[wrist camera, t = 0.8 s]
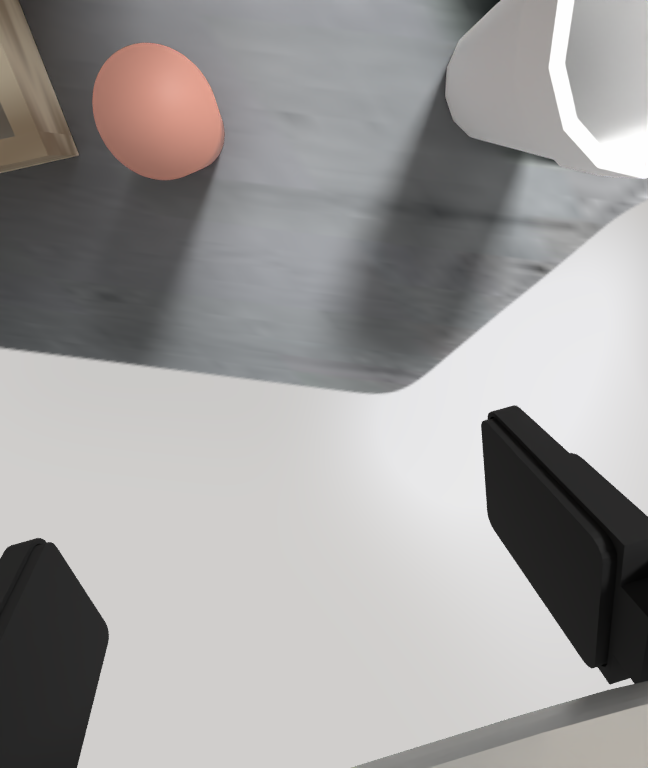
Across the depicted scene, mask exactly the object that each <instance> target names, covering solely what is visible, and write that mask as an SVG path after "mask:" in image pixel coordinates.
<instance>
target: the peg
mask: <svg viewBox="0 0 648 768" xmlns="http://www.w3.org/2000/svg"><path fill="white" fill-rule="evenodd" d="M92 103H93V113H94V119H95V122H96V126H97V129H98V131H99V133H100V136H101V138H102V139H103V141H104V143H105V145H106V146H107V148H108V149H109V150H110V152H111V153H112V154H113V155H114V156H115V157H116V158H117V159H118V160H119V161H120V162H121V163H122V164H123V165H124V166H126V167H127V168H129V169H130V170H132V171H134V172H136V173H137V174H139V175H142V176H145V177H148V178H152V179H157V180H173V179H178V178H181V177H185V176H187V175H189V174H191V173H194V172H196V171H198V170H200V169H203V168H205V167H207V166H209V165H210V164H212V163H213V162H214V161H215V160H216V158H217V157H218V156H219V154H220V152H221V150H222V147H223V144H224V135H225V133H224V125H223V121H222V118H221V115H220V112H219V109H218V106H217V103H216V100H215V97H214V94H213V92H212V90H211V87H210V85H209V83H208V82H207V80H206V78H205V77H204V75H203V74H202V73H201V71H200V70H199V69H198V68H197V67H196V66H195V65H194V64H193V62H191V61H190V60H189V59H188V58H187V57H185V56H184V55H182V54H181V53H179V52H178V51H176V50H174V49H172V48H169V47H167V46H164V45H160V44H155V43H138V44H133V45H129V46H126V47H124V48H122V49H120V50H118V51H117V52H116V53H114V54H113V55H112V56H111V57H110V58H109V59H108V60H107V61H106V62H105V63H104V65H103V66H102V67H101V69H100V71H99V73H98V75H97V78H96V81H95V84H94V89H93V99H92Z"/></svg>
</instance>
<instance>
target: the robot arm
mask: <svg viewBox="0 0 648 768" xmlns="http://www.w3.org/2000/svg"><path fill="white" fill-rule="evenodd" d="M481 428H482V443H483V457H484V470H485V485H486V497H487V498H486V499H487V512H488V517H489V520H490V523H491V525H492V527H493V529H494V531H495V532H496V533H497V535H498V536H499V538H500V539H501V541H502V542H503V544H504V545H505V547H506V548H507V550H508V551H509V553H510V554H511V555H512V557H513V558H514V560H515V561H516V563H517V564H518V566H519V567H520V569H521V570H522V572H523V573H524V574H525V576H526V577H527V579H528V580H529V582H530V583H531V585H532V586H533V588H534V589H535V591H536V592H537V594H538V595H539V597H540V598H541V600H542V601H543V602H544V604H545V605H546V607H547V608H548V609H549V611H550V613H551V614H552V616H553V617H554V619H555V620H556V621H557V623H558V624H559V626H560V627H561V629H562V630H563V632H564V633H565V635H566V636H567V638H568V639H569V640H570V642H571V643H572V645H573V646H574V648H575V649H576V651H577V652H578V654H579V655H580V657H581V658H582V660H583V661H584V662H585V663H586V664H587V665H588V666H589V667H590V668H595V667H598V668H599V670H600V671H601V672H602V674H603V675H604V677H605V678H606V680H607V681H608V683H609V684H613V683H616V682H619V681H622V680H625V679H628V678H631V679H632V681H633V682H634V683H635V684H633V685H629V686H624V687H619V688H615V689H611V690H607V691H604V692H600V693H596V694H593V695H589V696H586V697H582V698H579V699H576V700H572V701H569V702H565V703H562V704H558V705H555V706H551V707H548V708H544V709H541V710H538V711H534V712H530V713H527V714H524V715H520V716H517V717H513V718H511V719H507V720H504V721H500V722H497V723H494V724H491V725H488V726H484V727H481V728H478V729H475V730H471V731H468V732H465V733H462V734H458V735H455V736H452V737H449V738H446V739H442V740H439V741H436V742H433V743H430V744H426V745H423V746H420V747H416V748H413V749H410V750H407V751H404V752H400V753H398V754H394V755H391V756H387V757H384V758H381V759H378V760H374V761H371V762H368V763H365V764H362V765H359V766H355V767H352V768H648V516H646V515H645V514H644V513H643V512H642V511H641V510H640V509H639V508H637V507H636V506H635V505H634V504H633V503H632V502H631V501H630V500H628V499H627V498H626V497H625V496H624V495H623V494H622V493H621V492H619V491H618V490H617V489H616V488H615V487H614V486H613V485H611V483H609V482H608V481H607V480H606V479H605V478H604V477H602V475H600V474H599V473H598V472H597V471H596V470H595V469H594V468H592V467H591V466H590V465H589V464H588V463H587V462H586V461H585V460H584V459H582V458H581V457H580V456H578V455H576V454H573V453H569V452H567V451H566V450H565V449H564V448H563V447H562V446H561V445H560V444H559V443H558V442H556V441H555V440H554V439H553V438H552V437H551V436H550V435H549V434H548V433H547V432H545V431H544V430H543V429H542V428H541V427H540V426H539V425H538V424H537V423H536V422H535V421H533V420H532V419H531V418H530V417H529V416H528V415H527V414H526V413H525V412H524V411H522V410H521V409H520V408H519V407H517V406H511V407H507V408H503V409H500V410H496V411H493V412H490V413H489V414H488V420H485V421H483V422H482V424H481ZM108 639H109V634H108V628H107V625H106V623H105V621H104V620H103V618H102V617H101V615H100V613H99V612H98V610H97V609H96V607H95V606H94V604H93V603H92V601H91V600H90V598H89V597H88V595H87V594H86V592H85V590H84V589H83V587H82V586H81V584H80V583H79V581H78V579H77V578H76V576H75V575H74V573H73V572H72V570H71V569H70V567H69V566H68V564H67V562H66V561H65V559H64V558H63V556H62V555H61V553H60V552H59V550H58V548H57V547H56V546H55V545H54V544H53V543H51V542H48V543H46V541H45V540H43V539H41V538H36V539H33V540H29V541H26V542H22V543H19V544H15V545H11V546H10V547H8V548H7V549H6V550H5V551H4V553H3V555H2V557H1V558H0V768H77V765H78V761H79V757H80V753H81V749H82V745H83V741H84V737H85V733H86V729H87V725H88V721H89V717H90V713H91V709H92V705H93V701H94V697H95V693H96V689H97V684H98V681H99V676H100V673H101V669H102V665H103V661H104V657H105V653H106V649H107V645H108Z"/></svg>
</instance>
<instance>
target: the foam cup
mask: <svg viewBox="0 0 648 768" xmlns="http://www.w3.org/2000/svg"><path fill="white" fill-rule="evenodd" d="M445 98H446V101H447V104H448V107H449V109H450V112H451V115H452V118H453V121H454V122H455V123H456V124H457V125H458V126H459V127H460V128H461V129H462V130H463V131H464V132H465V133H466V134H467V135H468V136H469V137H473V138H475V139H479V140H482V141H486V142H490V143H494V144H498V145H501V146H505V147H509V148H513V149H516V150H520V151H524V152H528V153H531V154H535V155H539V156H543V157H547V158H550V159H554V160H555V161H556V162H557V164H558V165H559V166H560V167H564V168H568V169H573V170H577V171H581V172H585V173H590V174H594V175H598V176H602V177H619V178H636V179H645V178H648V0H501V1H500V2H499V3H497V4H496V5H495V6H494V7H493V8H492V9H491V10H490V11H489V12H488V13H487V14H486V15H485V16H484V17H483V18H482V19H481V20H480V21H479V22H477V23H476V24H475V25H474V26H473V27H472V28H471V29H470V30H469V31H468V32H467V33H466V34H465V35H464V36H463V37H462V38H461V39H460V40H459V41H458V44H457V46H456V48H455V50H454V53H453V55H452V57H451V59H450V62H449V64H448V66H447V73H446V89H445Z"/></svg>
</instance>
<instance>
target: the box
mask: <svg viewBox="0 0 648 768" xmlns="http://www.w3.org/2000/svg"><path fill="white" fill-rule="evenodd" d="M74 156H79V153H78V151H77V148H76V146H75V143H74V141H73V138H72V136H71V133H70V130H69V128H68V125H67V123H66V120H65V118H64V115H63V113H62V110H61V108H60V105H59V102H58V100H57V97H56V95H55V92H54V90H53V87H52V85H51V82H50V80H49V77H48V74H47V72H46V69H45V67H44V64H43V62H42V59H41V57H40V54H39V52H38V49H37V46H36V44H35V41H34V39H33V36H32V34H31V31H30V29H29V26H28V24H27V21H26V18H25V16H24V13H23V11H22V8H21V6H20V3H19V1H18V0H0V173H4V172H8V171H13V170H17V169H21V168H26V167H30V166H35V165H39V164H43V163H48V162H52V161H57V160H61V159H65V158H70V157H74Z"/></svg>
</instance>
